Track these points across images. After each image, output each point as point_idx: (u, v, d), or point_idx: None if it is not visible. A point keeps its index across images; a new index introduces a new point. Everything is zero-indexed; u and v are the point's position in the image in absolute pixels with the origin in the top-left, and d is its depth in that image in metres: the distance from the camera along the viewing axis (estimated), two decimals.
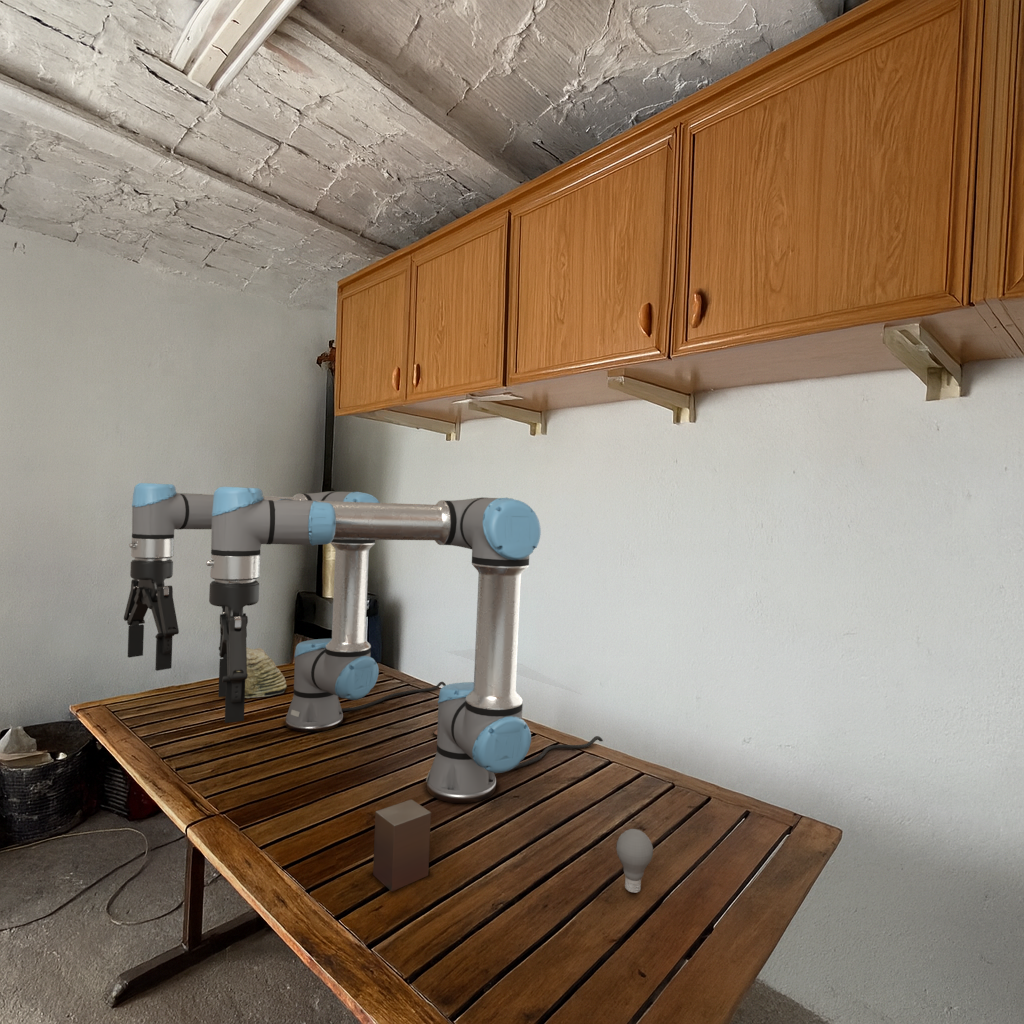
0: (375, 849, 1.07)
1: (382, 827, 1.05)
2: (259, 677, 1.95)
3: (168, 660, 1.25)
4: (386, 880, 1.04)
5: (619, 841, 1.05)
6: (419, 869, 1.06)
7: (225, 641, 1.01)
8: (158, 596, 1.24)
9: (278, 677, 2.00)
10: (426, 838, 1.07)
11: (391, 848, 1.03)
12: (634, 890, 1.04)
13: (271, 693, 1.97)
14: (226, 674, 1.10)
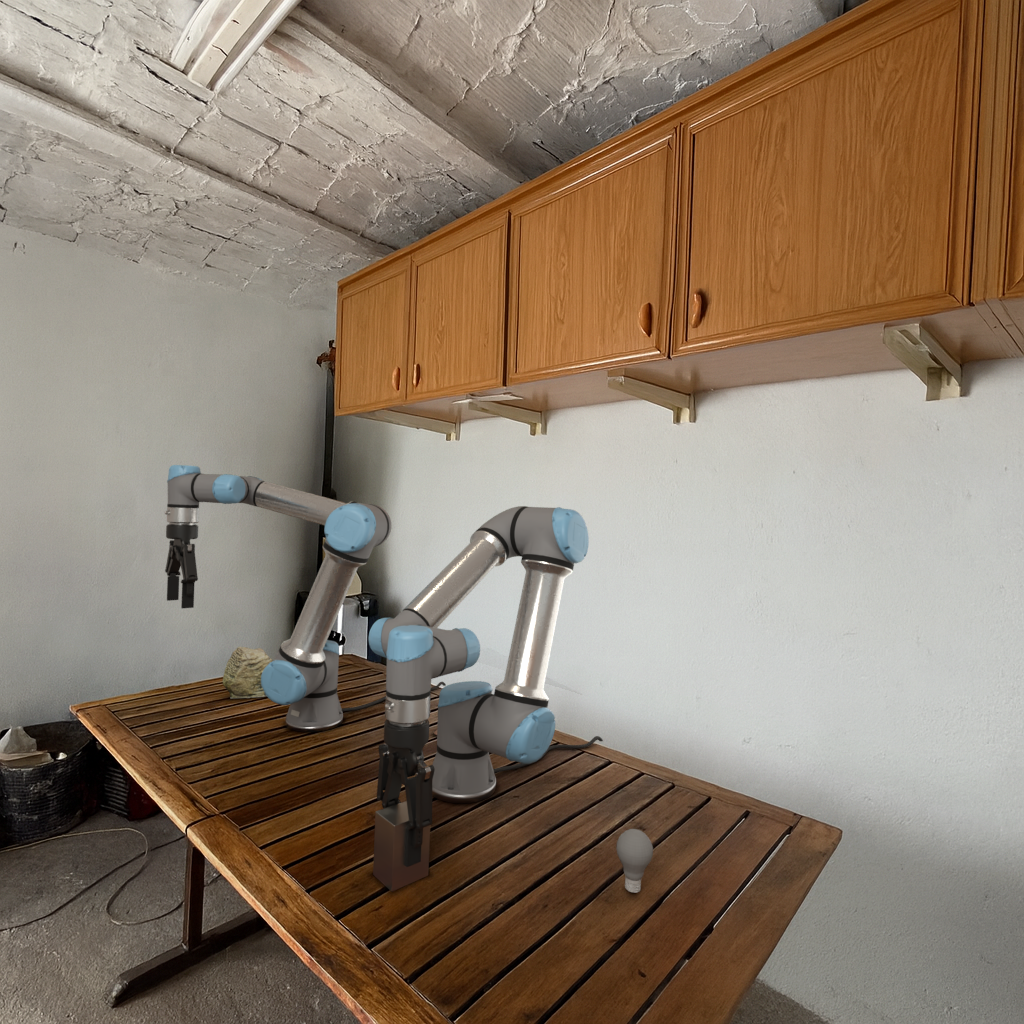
0: (375, 849, 1.07)
1: (382, 827, 1.05)
2: (259, 677, 1.95)
3: (191, 601, 1.63)
4: (386, 880, 1.04)
5: (619, 841, 1.05)
6: (419, 869, 1.06)
7: (405, 784, 1.04)
8: (183, 551, 1.62)
9: None
10: (426, 838, 1.07)
11: (391, 848, 1.03)
12: (634, 890, 1.04)
13: None
14: None
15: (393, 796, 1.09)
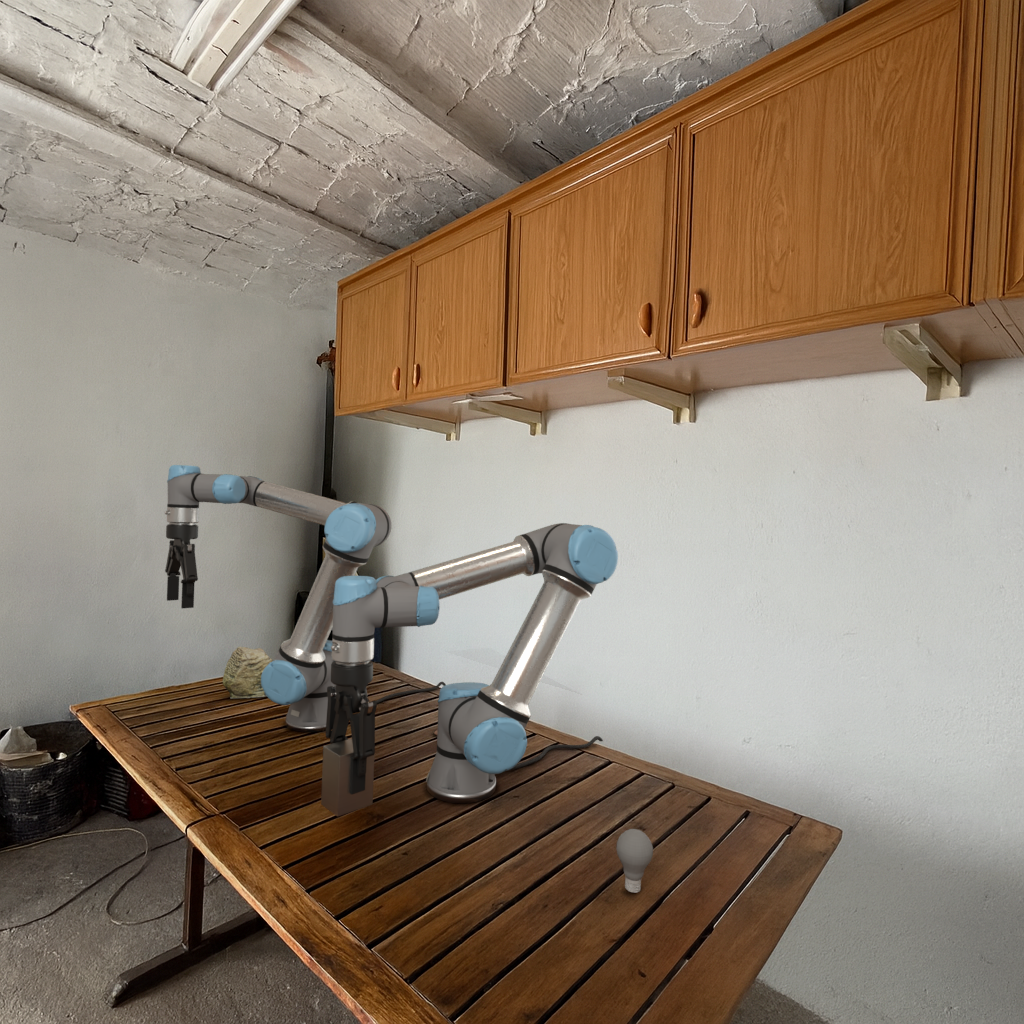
0: (323, 780, 1.16)
1: (329, 759, 1.15)
2: (259, 677, 1.95)
3: (191, 601, 1.63)
4: (333, 807, 1.13)
5: (619, 841, 1.05)
6: (364, 797, 1.16)
7: (350, 719, 1.14)
8: (183, 551, 1.62)
9: None
10: (370, 770, 1.17)
11: (337, 776, 1.12)
12: (634, 890, 1.04)
13: None
14: None
15: (340, 733, 1.19)
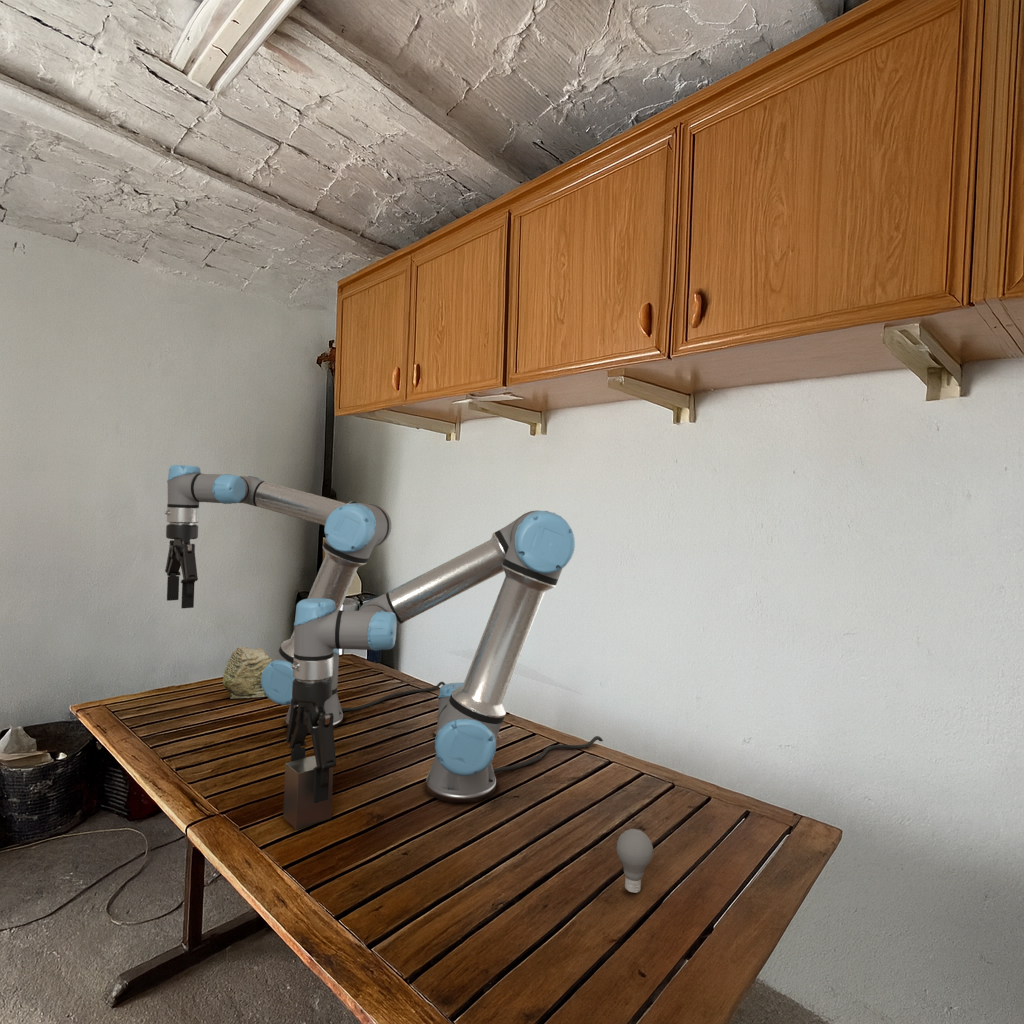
0: (285, 795, 1.24)
1: (290, 775, 1.23)
2: (259, 677, 1.95)
3: (191, 601, 1.63)
4: (292, 821, 1.21)
5: (619, 841, 1.05)
6: (322, 812, 1.24)
7: (310, 733, 1.21)
8: (183, 551, 1.62)
9: None
10: (329, 786, 1.24)
11: (296, 792, 1.20)
12: (634, 890, 1.04)
13: None
14: None
15: (299, 740, 1.28)
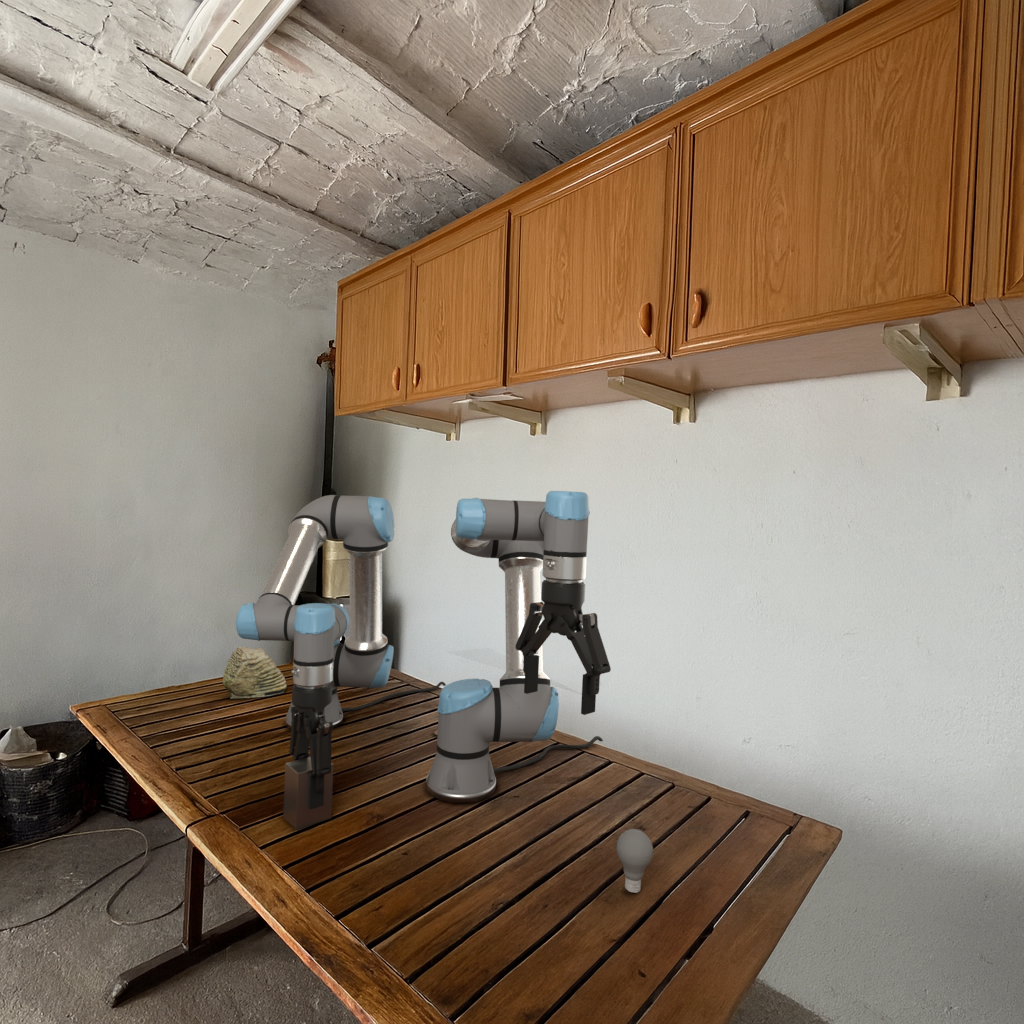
0: (285, 795, 1.24)
1: (290, 775, 1.23)
2: (259, 677, 1.95)
3: (320, 797, 1.23)
4: (292, 821, 1.21)
5: (619, 841, 1.05)
6: (322, 812, 1.24)
7: (571, 638, 1.06)
8: (318, 733, 1.19)
9: (278, 677, 2.00)
10: (329, 786, 1.24)
11: (296, 792, 1.20)
12: (634, 890, 1.04)
13: (271, 693, 1.97)
14: (532, 671, 1.14)
15: (535, 648, 1.14)
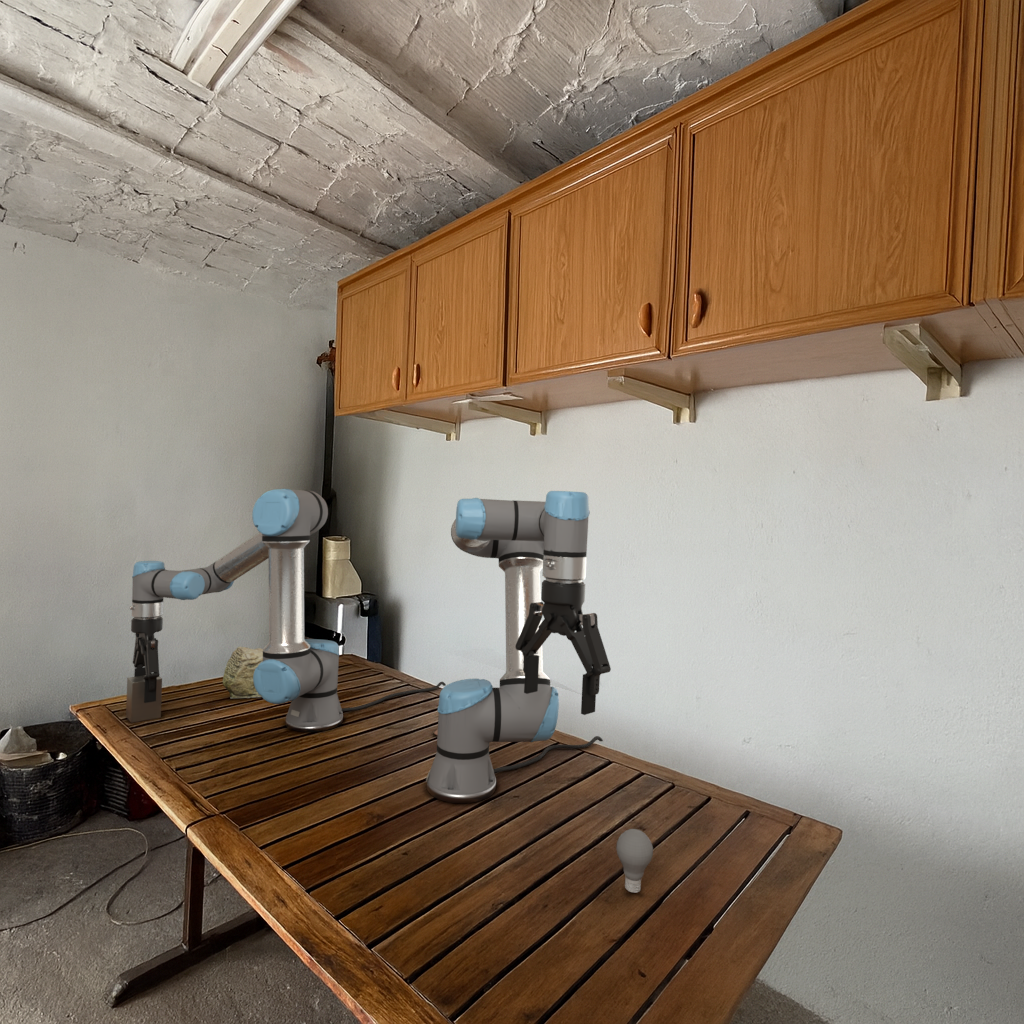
0: None
1: (129, 685, 1.73)
2: None
3: (153, 695, 1.71)
4: (129, 717, 1.72)
5: (619, 841, 1.05)
6: (153, 712, 1.74)
7: (571, 638, 1.06)
8: (147, 647, 1.69)
9: None
10: (158, 694, 1.75)
11: (131, 696, 1.71)
12: (634, 890, 1.04)
13: None
14: (532, 671, 1.14)
15: (535, 648, 1.14)
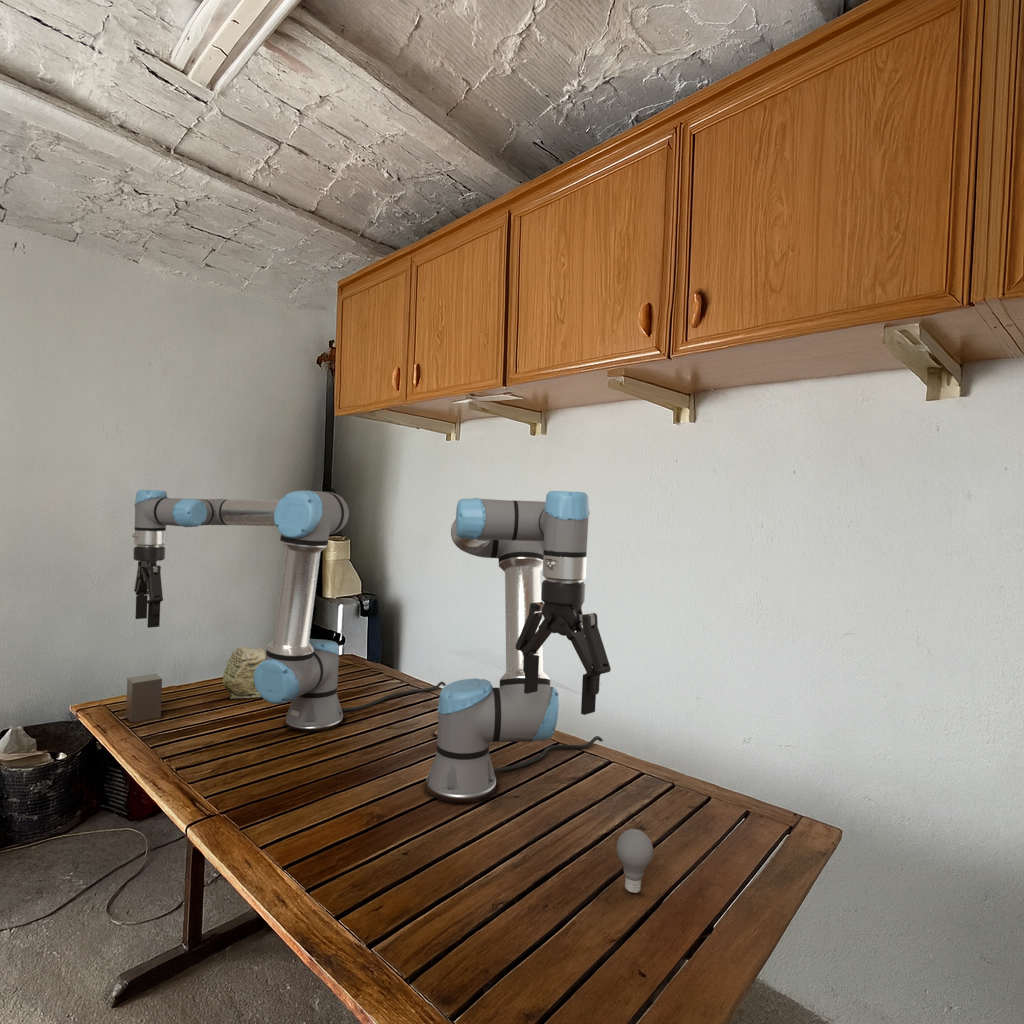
0: None
1: (129, 685, 1.73)
2: None
3: (157, 620, 1.70)
4: (129, 717, 1.72)
5: (619, 841, 1.05)
6: (153, 712, 1.74)
7: (571, 638, 1.06)
8: (149, 572, 1.69)
9: None
10: (158, 694, 1.75)
11: (131, 696, 1.71)
12: (634, 890, 1.04)
13: None
14: (532, 671, 1.14)
15: (535, 648, 1.14)
